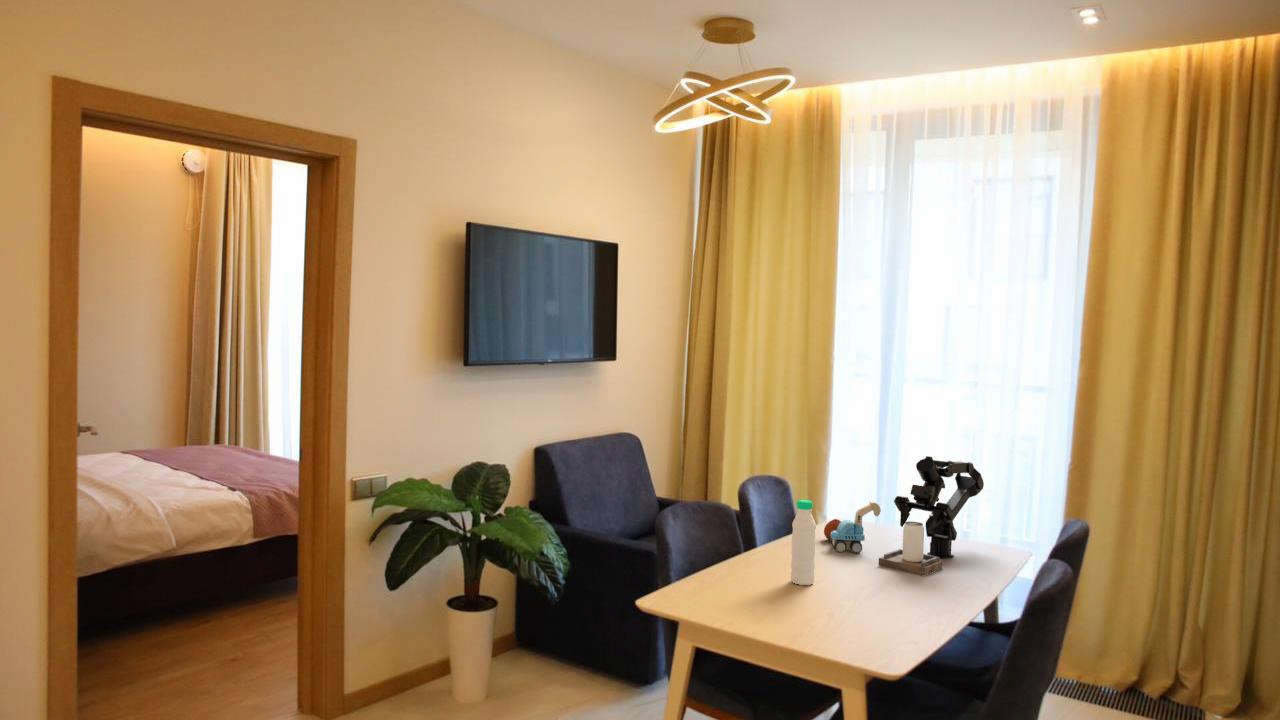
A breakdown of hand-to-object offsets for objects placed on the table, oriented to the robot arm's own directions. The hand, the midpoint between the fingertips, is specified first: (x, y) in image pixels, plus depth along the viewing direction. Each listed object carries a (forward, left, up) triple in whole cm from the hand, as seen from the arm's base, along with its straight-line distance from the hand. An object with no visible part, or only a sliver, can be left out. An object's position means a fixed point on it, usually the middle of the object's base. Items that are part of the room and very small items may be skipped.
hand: (914, 528), depth 296 cm
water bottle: (+45, +3, -13) cm, 47 cm away
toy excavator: (+5, -24, -13) cm, 27 cm away
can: (+1, +1, -10) cm, 10 cm away
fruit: (+3, -37, -13) cm, 39 cm away
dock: (+2, +1, -12) cm, 13 cm away
